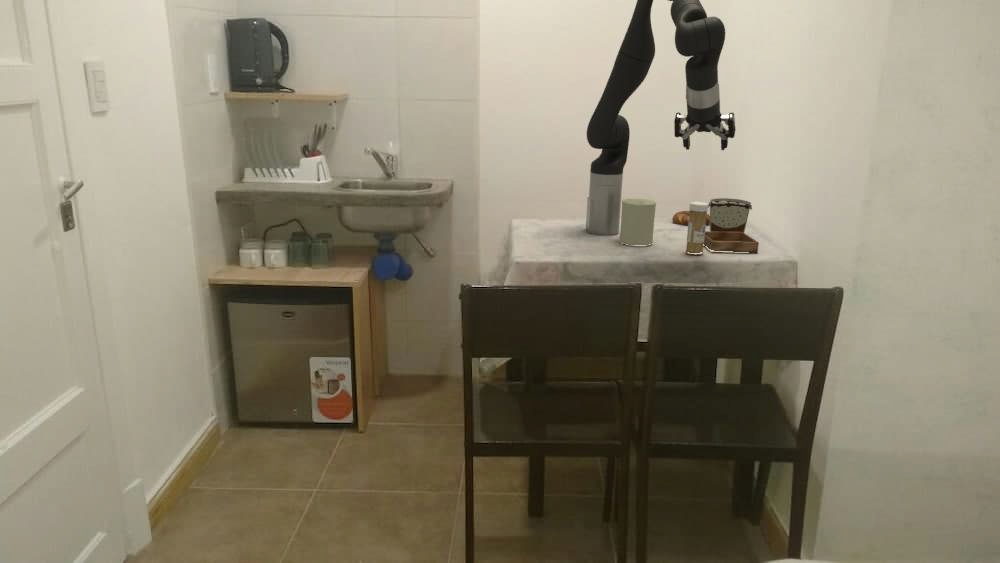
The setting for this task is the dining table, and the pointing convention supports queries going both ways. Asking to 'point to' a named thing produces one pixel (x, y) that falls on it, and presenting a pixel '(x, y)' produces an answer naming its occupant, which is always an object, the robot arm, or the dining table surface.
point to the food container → (728, 214)
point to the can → (637, 221)
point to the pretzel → (686, 218)
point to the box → (730, 242)
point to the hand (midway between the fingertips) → (705, 147)
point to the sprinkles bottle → (696, 227)
